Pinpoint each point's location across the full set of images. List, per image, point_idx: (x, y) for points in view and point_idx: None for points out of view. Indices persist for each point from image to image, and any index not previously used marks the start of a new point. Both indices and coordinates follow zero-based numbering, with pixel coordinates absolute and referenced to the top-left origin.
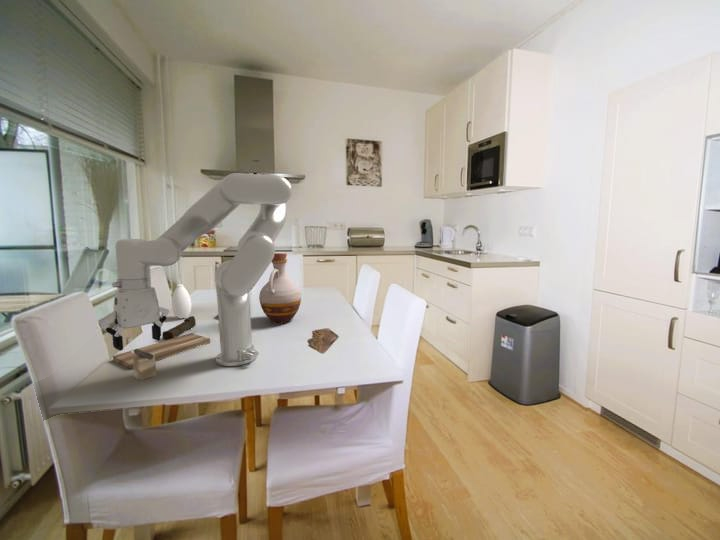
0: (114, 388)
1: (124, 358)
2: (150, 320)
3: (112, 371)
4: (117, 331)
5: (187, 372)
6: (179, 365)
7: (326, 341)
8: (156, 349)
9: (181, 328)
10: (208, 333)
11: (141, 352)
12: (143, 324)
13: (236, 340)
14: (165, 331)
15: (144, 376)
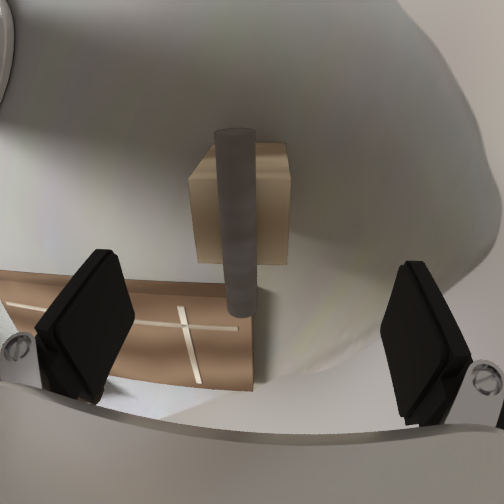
0: (384, 174)
1: (238, 359)
2: (46, 440)
3: (299, 320)
4: (493, 409)
5: (113, 57)
6: (104, 163)
7: None
8: (132, 343)
9: None
10: (5, 328)
11: (247, 242)
12: (184, 433)
13: None
14: (89, 401)
15: (270, 146)
